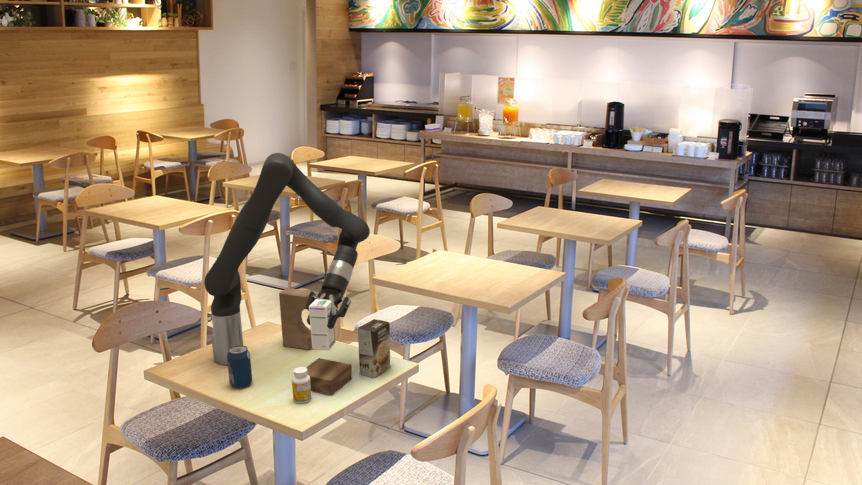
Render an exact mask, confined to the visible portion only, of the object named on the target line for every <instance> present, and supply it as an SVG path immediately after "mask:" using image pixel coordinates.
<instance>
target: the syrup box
mask: <svg viewBox="0 0 862 485" xmlns="http://www.w3.org/2000/svg"><path fill="white" fill-rule="evenodd" d="M331 302H332V301H331V300H327V299H319V298H317V299H315V301H314V302H313V303H311V305H310V306H309V311H308V315H309V317H310V325H309V326H310V328H309V329H310V330H311V340H312V349H311V350H316V351H331V349H332V348H333V346H334V345H335V344H336V331H335V330H336V329H335V326H334V327H333V328H332V329H329V328H328V327H327V324H328V322H329V319H330V317H331V315H332V309H331Z"/></svg>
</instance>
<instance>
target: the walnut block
mask: <svg viewBox="0 0 862 485" xmlns="http://www.w3.org/2000/svg"><path fill="white" fill-rule="evenodd" d="M305 368H307V371H308V375H309V376H310V382H311V392H313V393H319V394H322V395H328V396H330V397H332V396H333V395H335V393H337V392H338V391H339V390H340V389H342V388H343V387H344V386H345V385H347V383H349V382H350V381H351V380H352V379H353V370H352V364H350V363H346V362H341V361H336V360H331V359H326V358H321V357H318V358H317V359H315V360H314V361H313V362H311V363H310V364H308V365H307V366H305Z"/></svg>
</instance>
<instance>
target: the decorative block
mask: <svg viewBox="0 0 862 485" xmlns="http://www.w3.org/2000/svg"><path fill="white" fill-rule="evenodd" d="M311 291H312V290H306V289H298V288H289V287H286V288H285V289H283V290H281V291H280V292H279V293H278V296H279V298H278V299H279V312H280V323H281V324H280V325H281V337H282V346H283V347H287V348H293V349H294V348H295V349H299V350H300V349H302V350H306V351H310V350H313V349H312V340H311V329H310V328H309V327H308V326H307V325H306V324H305V322H304V321H303V316H302V315H303V311H304V310H307V309H306V304H307V301H308V298H309V295H310V292H311Z"/></svg>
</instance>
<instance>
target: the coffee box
mask: <svg viewBox="0 0 862 485" xmlns="http://www.w3.org/2000/svg"><path fill="white" fill-rule="evenodd" d="M357 327H358V326H357ZM390 328H391V327H390V321H385V320H381V319H375V318H374V319H371V320H369V321H368V322H366V323H364V324H362V325H361V326H359V327H358V328H357V332H358V333H357V334H358V336H357V337H358V338H357V340H358V365H359V366H358V367H359V371H358V372H359V375H361V376H365V377H368V378H373V379H375V378H377V377H378V376H380V375H381V374H383V373H384V372H386V371H387V370H389V369H390V368H391V335H390V334H391V333H390V332H391V329H390Z"/></svg>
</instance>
